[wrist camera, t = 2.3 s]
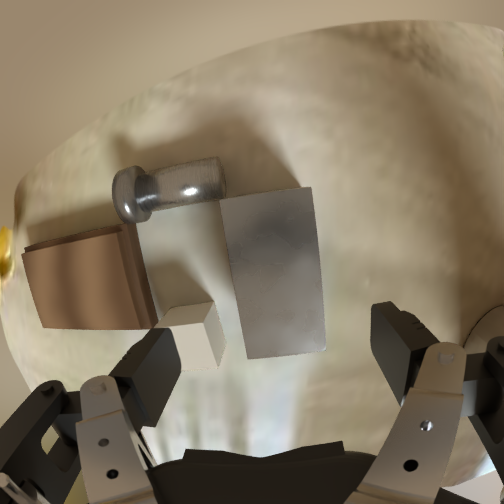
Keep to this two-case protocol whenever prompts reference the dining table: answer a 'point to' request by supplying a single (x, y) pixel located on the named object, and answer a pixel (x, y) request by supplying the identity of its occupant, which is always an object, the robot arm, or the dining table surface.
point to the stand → (91, 281)
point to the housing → (276, 271)
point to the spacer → (196, 335)
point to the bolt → (166, 188)
